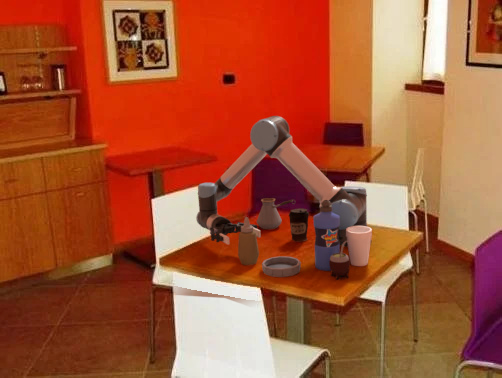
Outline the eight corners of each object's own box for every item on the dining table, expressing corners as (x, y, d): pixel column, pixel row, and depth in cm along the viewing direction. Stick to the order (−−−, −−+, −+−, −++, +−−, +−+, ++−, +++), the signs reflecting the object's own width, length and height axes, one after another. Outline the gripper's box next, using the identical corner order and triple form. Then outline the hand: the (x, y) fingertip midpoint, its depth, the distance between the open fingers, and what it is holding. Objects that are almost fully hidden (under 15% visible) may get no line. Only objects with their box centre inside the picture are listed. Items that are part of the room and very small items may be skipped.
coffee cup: (308, 243, 249) (307, 213, 246) (288, 243, 251) (287, 212, 248) (310, 236, 258) (309, 207, 255) (291, 236, 259) (290, 207, 256)
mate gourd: (333, 272, 216) (332, 232, 213) (354, 275, 212) (354, 234, 209) (326, 279, 210) (325, 238, 206) (348, 282, 206) (347, 240, 203)
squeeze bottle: (252, 268, 224) (249, 221, 220) (234, 264, 229) (231, 219, 225) (263, 261, 231) (261, 215, 227) (245, 258, 235) (243, 213, 231)
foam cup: (343, 266, 221) (343, 232, 218) (349, 257, 230) (348, 225, 227) (369, 268, 218) (369, 234, 215) (374, 259, 226) (374, 226, 223)
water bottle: (344, 268, 219) (343, 201, 213) (320, 272, 216) (319, 204, 211) (334, 260, 227) (332, 196, 222) (311, 264, 225) (309, 199, 219)
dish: (303, 264, 225) (303, 257, 224) (296, 277, 212) (296, 270, 212) (267, 263, 229) (267, 255, 228) (258, 276, 216) (258, 268, 215)
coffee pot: (251, 228, 275) (249, 196, 272) (268, 222, 283) (267, 191, 280) (286, 236, 260) (285, 202, 257) (303, 229, 268) (302, 196, 265)
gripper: (246, 228, 254) (272, 240, 236) (192, 239, 242) (215, 253, 224) (245, 211, 252) (271, 222, 234) (190, 221, 240) (214, 234, 222)
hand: (244, 237), depth 229 cm, fingers open, 13 cm apart
